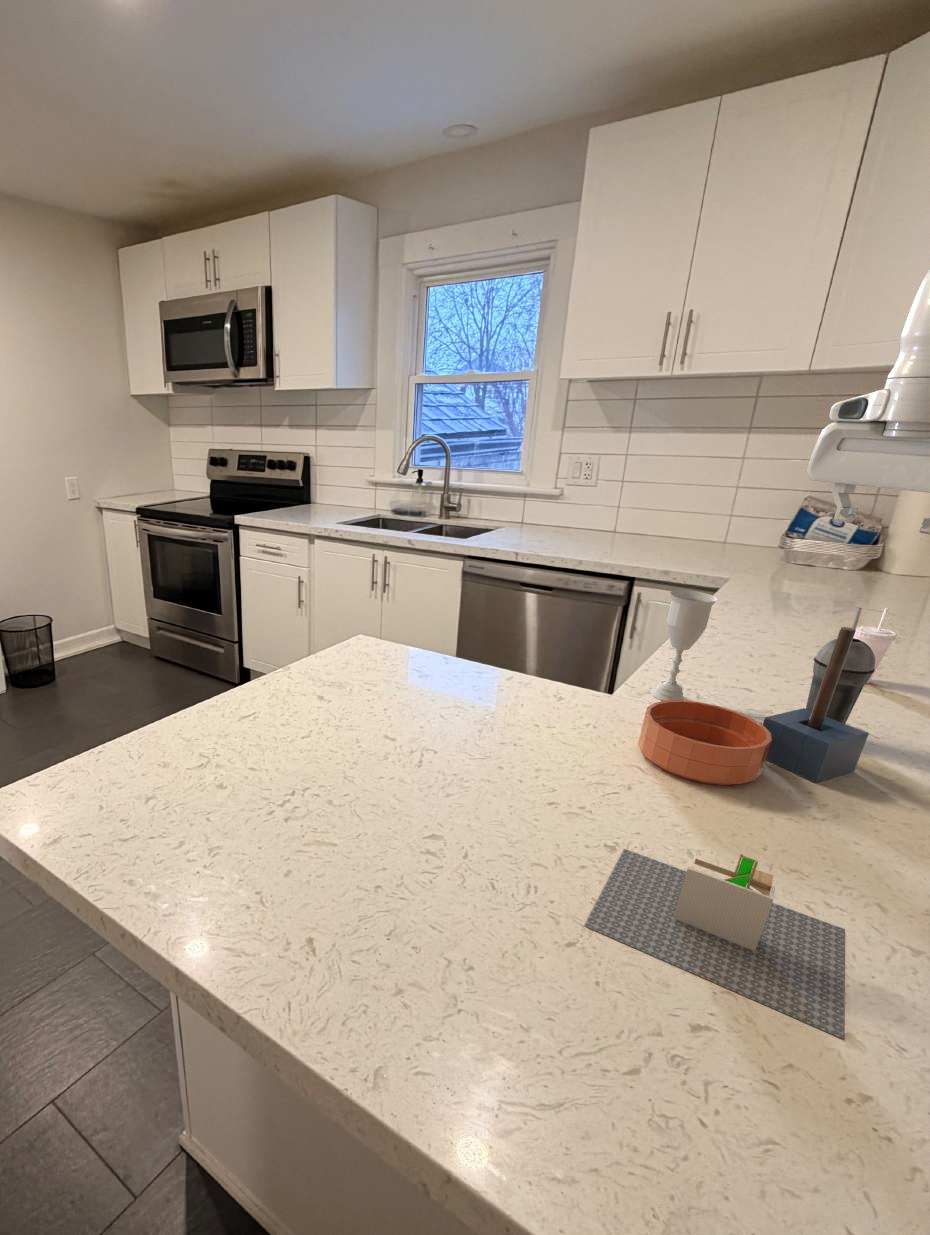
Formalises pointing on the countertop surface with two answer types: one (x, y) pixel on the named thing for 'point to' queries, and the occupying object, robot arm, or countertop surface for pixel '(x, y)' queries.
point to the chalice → (683, 633)
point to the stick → (831, 677)
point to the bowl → (704, 742)
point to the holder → (813, 745)
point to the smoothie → (876, 639)
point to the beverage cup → (843, 676)
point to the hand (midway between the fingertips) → (884, 527)
